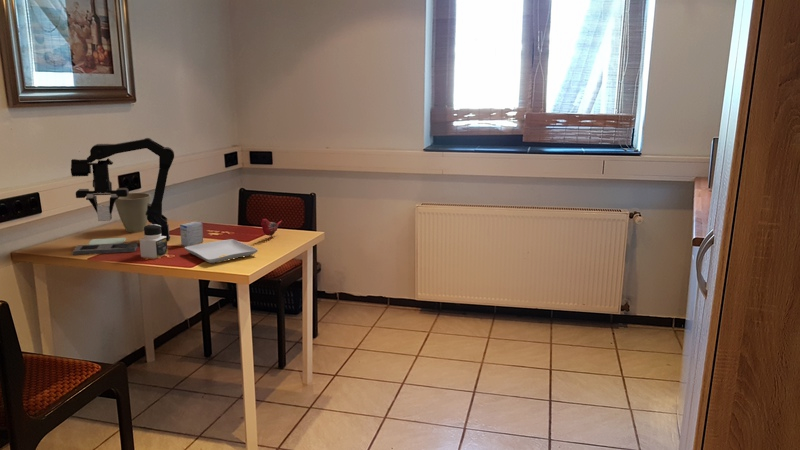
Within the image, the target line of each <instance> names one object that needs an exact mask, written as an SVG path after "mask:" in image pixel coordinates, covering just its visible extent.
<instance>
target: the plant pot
mask: <svg viewBox="0 0 800 450" xmlns="http://www.w3.org/2000/svg"><path fill="white" fill-rule="evenodd" d="M148 203H149V204H151V193H146V192H129V195H128V196H127V197H119V198H118V199H116V200H115V203H114V205H115V207H116V210H117V214H118V216H119V218H120V221H121V223H122V225H123V227H124V229H125V231H126V232H127V233H140V232H144V227H145V226H147V222H148V220H147V215H146V211H147V205H148Z"/></svg>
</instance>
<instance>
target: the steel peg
mask: <svg viewBox="0 0 800 450" xmlns="http://www.w3.org/2000/svg"><path fill="white" fill-rule="evenodd" d="M97 213H98V214H97ZM96 214H97V221H98V222H110V221H111V220H112V217H113V216H112V215H113V214H112V213H111V214H110V203H108V204H107V203H101V204H98V206H97V212H96Z"/></svg>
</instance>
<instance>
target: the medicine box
mask: <svg viewBox="0 0 800 450" xmlns="http://www.w3.org/2000/svg"><path fill="white" fill-rule="evenodd" d="M179 228H180V229H179V230H180V242H181V243H180V244H181V245H182V246H184V247H187V246H193V245H198V244H203V243H204V233H203V232H204V231H203V222H199V221H191V222H187V223H183V224H180V225H179Z"/></svg>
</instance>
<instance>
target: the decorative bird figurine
mask: <svg viewBox="0 0 800 450" xmlns="http://www.w3.org/2000/svg"><path fill="white" fill-rule="evenodd" d="M282 222H283V220H280V221H279V222H277V223H276V222H274V221H269V220H268V219H267V218H262V219H261V221H260V226H261V228H262V232H263V233H264V235H265V236H269V237H268V238H267V239H266V240H268V241H269V240H271V239H272V238H273V235H274V234H275V233H276V232H277V231H278V228H279V226H280V225H281V223H282Z"/></svg>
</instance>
